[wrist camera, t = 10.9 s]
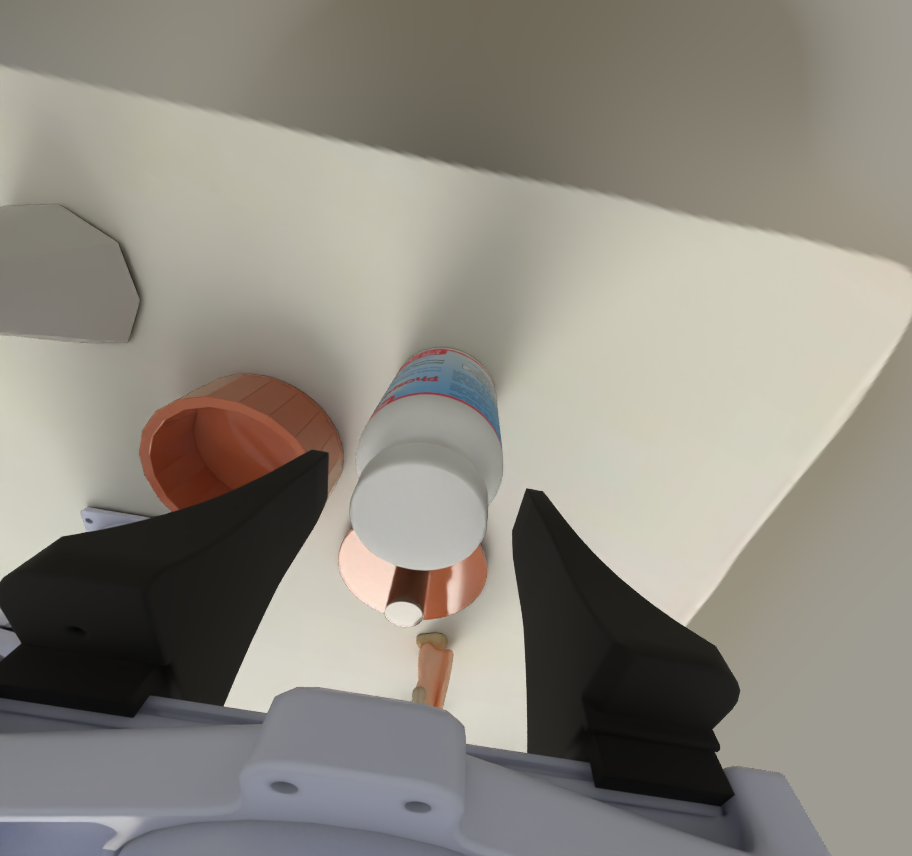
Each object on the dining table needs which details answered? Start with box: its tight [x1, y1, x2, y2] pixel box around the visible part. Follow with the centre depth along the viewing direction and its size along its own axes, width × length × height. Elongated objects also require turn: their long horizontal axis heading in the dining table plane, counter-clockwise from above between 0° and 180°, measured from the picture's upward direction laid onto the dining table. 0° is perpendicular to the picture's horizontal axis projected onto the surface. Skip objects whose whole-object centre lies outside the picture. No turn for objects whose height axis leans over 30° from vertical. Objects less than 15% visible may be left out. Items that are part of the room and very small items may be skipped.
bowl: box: [139, 374, 343, 512], centre depth 22 cm, size 10×10×4 cm
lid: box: [338, 527, 487, 627], centre depth 26 cm, size 11×11×5 cm
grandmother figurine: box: [412, 633, 453, 709], centre depth 27 cm, size 8×4×13 cm, turn 11°
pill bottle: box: [350, 347, 503, 570], centre depth 17 cm, size 6×6×11 cm
